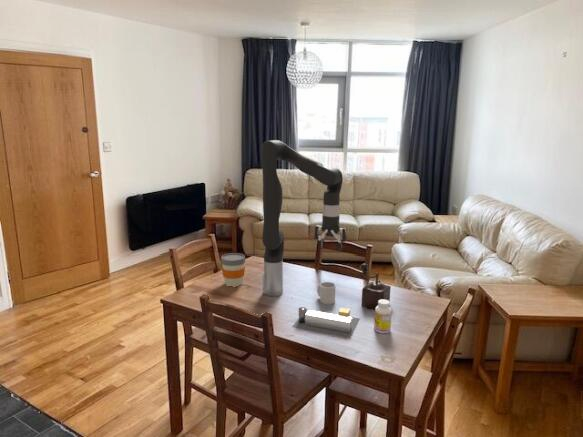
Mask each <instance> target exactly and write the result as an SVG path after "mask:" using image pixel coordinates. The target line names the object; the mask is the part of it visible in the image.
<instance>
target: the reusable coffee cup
mask: <svg viewBox="0 0 583 437" xmlns="http://www.w3.org/2000/svg"><path fill="white" fill-rule="evenodd" d="M245 263H246V255H244V253H238V252H230V253H225V254H223V255H221V259H220V264H221V265H222V266H221V272H222V277H223V278H224V285H225V284H226V285H227V287H228V286H238V287H240V286H239V285H241V284H242V285H243V283H244V282H243V281H244V276H245V273H246V272H245V271H246V266H245ZM226 285H225V286H226ZM242 285H241V286H242Z"/></svg>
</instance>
